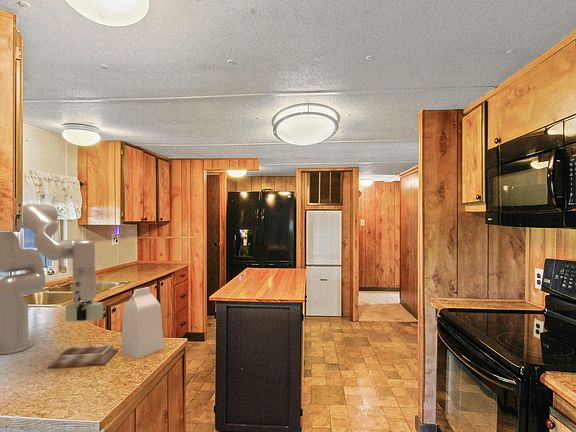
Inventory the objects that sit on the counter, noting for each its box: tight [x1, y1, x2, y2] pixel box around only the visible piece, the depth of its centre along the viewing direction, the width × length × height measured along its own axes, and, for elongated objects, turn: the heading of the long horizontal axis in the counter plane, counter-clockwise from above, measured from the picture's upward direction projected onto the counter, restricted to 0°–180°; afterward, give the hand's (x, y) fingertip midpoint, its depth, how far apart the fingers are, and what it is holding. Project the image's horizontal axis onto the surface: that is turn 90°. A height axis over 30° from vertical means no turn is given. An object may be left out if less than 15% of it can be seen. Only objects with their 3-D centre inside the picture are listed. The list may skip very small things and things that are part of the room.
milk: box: [120, 286, 165, 360], centre depth 139 cm, size 12×12×26 cm
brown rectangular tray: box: [47, 344, 119, 370], centre depth 130 cm, size 20×13×4 cm, turn 97°
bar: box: [65, 301, 104, 323], centre depth 130 cm, size 4×12×6 cm, turn 97°
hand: (84, 317), depth 130 cm, fingers closed on bar, 4 cm apart
